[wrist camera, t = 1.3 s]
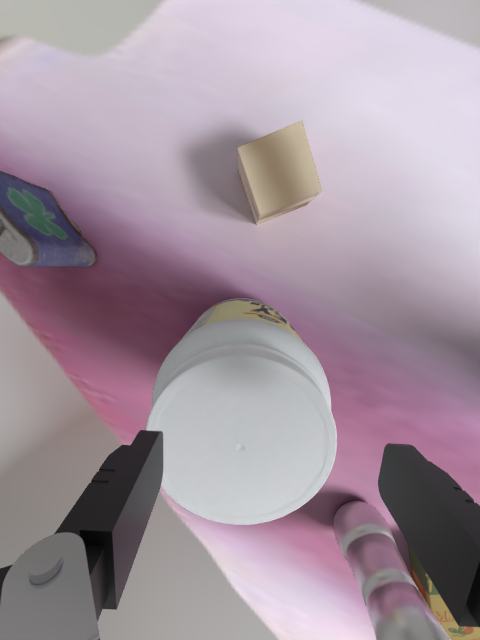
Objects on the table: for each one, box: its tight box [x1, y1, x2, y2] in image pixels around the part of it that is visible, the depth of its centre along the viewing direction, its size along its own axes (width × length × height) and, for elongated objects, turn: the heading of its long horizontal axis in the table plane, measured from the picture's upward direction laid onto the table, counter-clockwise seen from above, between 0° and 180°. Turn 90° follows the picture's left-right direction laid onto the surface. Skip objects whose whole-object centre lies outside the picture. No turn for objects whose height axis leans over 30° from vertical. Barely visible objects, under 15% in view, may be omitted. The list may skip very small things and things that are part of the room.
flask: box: [0, 171, 97, 267], centre depth 22 cm, size 9×3×11 cm, turn 33°
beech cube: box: [237, 121, 322, 225], centre depth 24 cm, size 6×6×6 cm
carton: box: [408, 543, 480, 640], centre depth 35 cm, size 8×16×4 cm, turn 13°
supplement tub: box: [146, 298, 337, 525], centre depth 22 cm, size 12×12×17 cm
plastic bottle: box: [333, 501, 451, 640], centre depth 25 cm, size 6×7×20 cm
